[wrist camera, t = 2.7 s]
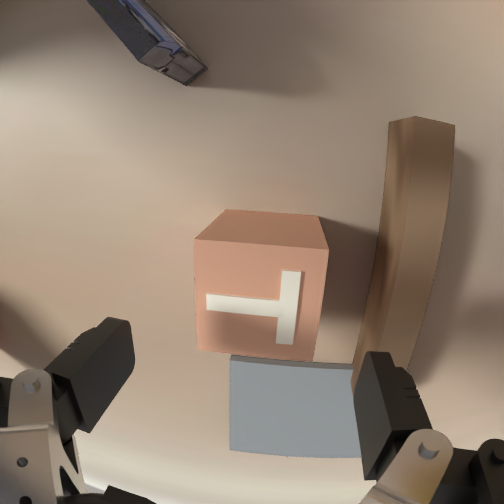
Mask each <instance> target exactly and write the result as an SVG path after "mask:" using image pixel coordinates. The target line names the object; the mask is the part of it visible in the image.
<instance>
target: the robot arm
mask: <svg viewBox="0 0 504 504" xmlns="http://www.w3.org/2000/svg"><path fill="white" fill-rule="evenodd" d="M134 365H135V354H134V347H133V340H132V333H131V326H130V323H129V322H128V321H126V320H122V319H117V318H112V317H107V318H106V319H105V320H104V321H103V322H102V323H100V324H99V325H98V326H97V327H96V328H95V327H94V328H92V329H90V330H88V331H85V332H83V333H82V334H81V335H80V336H79V337H77V338H76V339H75V340H74V343H71V344H70V345H69V346H68V347H67V349H65V350H64V351H63V352H62V353H61V354H60V355H58V356H57V357H56V358H55V359H54V360H53V361H52V362H51V363H50V364H49V365H48V366H47V367H46V368H45V369H44V370H41V369H28V370H25V371H23V372H21V373H19V374H18V375H16V376H15V378H14V379H11V378H4V377H0V504H156V503H154V502H152V501H151V500H149V499H147V498H145V497H141V496H138V495H135V494H132V493H129V492H126V491H123V490H121V489H118V488H115V487H112V486H110V485H109V486H108V487H107V489H106V491H105V493H104V494H98V493H89V492H88V490H87V488H86V485H85V483H84V479H83V475H82V470H81V466H80V461H79V456H78V450H77V445H76V439H75V436H74V432H75V431H76V430H77V429H80V430H82V431H85V432H87V433H90V432H91V431H92V429H93V428H94V426H95V425H96V423H97V422H98V421H99V419H100V418H101V416H102V415H103V413H104V412H105V410H106V409H107V408H108V406H109V405H110V403H111V402H112V400H113V399H114V397H115V396H116V395H117V393H118V392H119V390H120V389H121V387H122V386H123V385H124V383H125V382H126V380H127V379H128V377H129V376H130V375H131V373H132V371H133V369H134ZM353 404H354V410H355V416H356V423H357V429H358V436H359V443H360V450H361V457H362V465H363V473H364V480H376V481H377V483H376V485H375V486H373V487H372V488H371V490H370V491H369V492H368V493H367V495H366V496H365V497H364V498H363V500H362V501H361V502H360V503H359V504H504V441H503V440H500V439H490V440H487V441H485V442H484V443H483V444H482V445H481V446H480V448H479V449H478V450H477V451H474V450H466V449H458V448H454V447H453V446H452V443H451V442H450V440H449V439H448V438H447V437H446V436H445V435H444V434H442V433H441V432H439V431H436V430H433V429H432V426H431V423H430V421H429V418H428V415H427V413H426V410H425V408H424V405H423V403H422V400H421V398H420V395H419V393H418V390H416V385H415V383H414V381H413V378H412V376H411V375H410V374H409V373H408V372H407V371H406V370H405V369H404V368H403V367H395V365H394V362H393V359H392V357H391V354H390V353H389V352H378V351H367V352H366V353H365V356H364V359H363V362H362V366H361V369H360V372H359V376H358V379H357V382H356V385H355V389H354V397H353Z"/></svg>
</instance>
